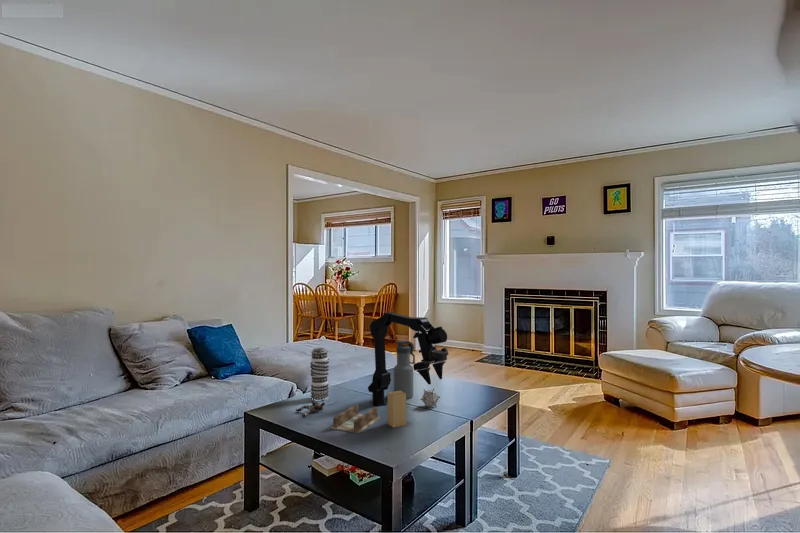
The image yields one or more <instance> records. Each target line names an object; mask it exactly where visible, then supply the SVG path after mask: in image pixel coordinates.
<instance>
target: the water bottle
mask: <svg viewBox="0 0 800 533" xmlns="http://www.w3.org/2000/svg"><path fill="white" fill-rule="evenodd" d="M414 350H415V345H414V343H413V342H411V341H410V340H405V339H403V340H397V341H396V363H397V364H396V365H395V366H394V367H393V392H395V391H402V392H404V393H406V400H408V399H412V398H413V397H414V368H413V365H414V364H415V363H416V358H415V357H416V356H415V353H414ZM411 356H412V361H411Z"/></svg>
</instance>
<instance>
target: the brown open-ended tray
mask: <svg viewBox="0 0 800 533" xmlns="http://www.w3.org/2000/svg"><path fill="white" fill-rule="evenodd" d="M378 411H379V410H378V407H377V406H375V407H372V408H371V409H369V410H368V411H367V412H365V413H364V414H361V413H359V404H354V405H352V406H350V407H349V408H347V409H345V410H343V411H342V412H340V413H338V414H337V415H335V416H334V417H333V418H332V425H333V426H331V427H330V429H331V428H332V430H336V429H337V431H342V430H343V431H342V432H349V433H355V434H361V433H362V432H364V431H365V430H366V429H368V428H369V427H370V426H372V425H373V424H374V423H376V422H377V421H379V420H380V416H379V415H378V413H379V412H378Z"/></svg>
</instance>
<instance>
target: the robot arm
mask: <svg viewBox="0 0 800 533" xmlns="http://www.w3.org/2000/svg"><path fill="white" fill-rule="evenodd" d="M392 323H395V324H399V325H403V326H405V327H409V329H410V330H412V331H414V335H413V337H412V338H413V339H417V342H418V345H419V348H420V350H418V353H419V354H420V353H421V358H422V359H420V361H417V362H415V363H414V364H412V367H413V372H414V371H416V372H417V373H418V374H419V375H420V376H421V378H423V379H424V381H425V383H426V384H428V385H432V383H431V382H432V380H431V374H430V370H431V367H430V365H432V367H433V369H434V371H435V373H436V376H437V377H438V378H439V380H443V367H444V365H445V363H446V362H447V360H448V355H449V352H448V351H449V350H448V348H447V347H442V348H441V349H437V347H436V345H438V344H442V343H445V342H447V341H448V334H447V332H446V331H445V329H443V326H438V327H435V326H434V325H433V324H432V323H431V322H430V321H429V318H427V317H417V316H416V317H411V316H408V315H405V314H399V313H395V312H394V311H387V312H385V313H383V315H381V316H380V317H379V318H376V319H375V320H374V321H371V323H370V324H369V330H370V335H371V337H372V338H373V343H374V361H375V362H374V366H375V370H374V372H373V374H372V380H371V383H370V384H369V385H368V386H367V390H368V392H369V393H371V396H372V397H371V398H372V399H371V400H370V404H371V405H372V406H375V407H377V406H385V405H387V402H386V401H385V391H386V390H388V389H389V386H390V385H391V382H392V379H391V375H392V374H391V372H389V371H388V369H387V363H386V361H387V360H386V342H385V340H386V337H387V334H388V329H389V327H390V326H391V324H392ZM434 345H435V346H434Z"/></svg>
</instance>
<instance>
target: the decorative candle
mask: <svg viewBox="0 0 800 533" xmlns="http://www.w3.org/2000/svg"><path fill="white" fill-rule="evenodd" d="M329 360H330V359H329V358H328V350H327V349H326V348H325V347H316V348H313V349H312V350H311V362H310V366H309V368H310V376H311V385H310V387H311V388H310V390H311V392H310V398H314V399H315V400H323V399H327V398H328V399H329V396H330V394H329V384H328V383H329V381H328V375H329V373H328V371H329V365H328V364H329V363H330V361H329ZM328 399H327V400H328Z"/></svg>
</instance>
